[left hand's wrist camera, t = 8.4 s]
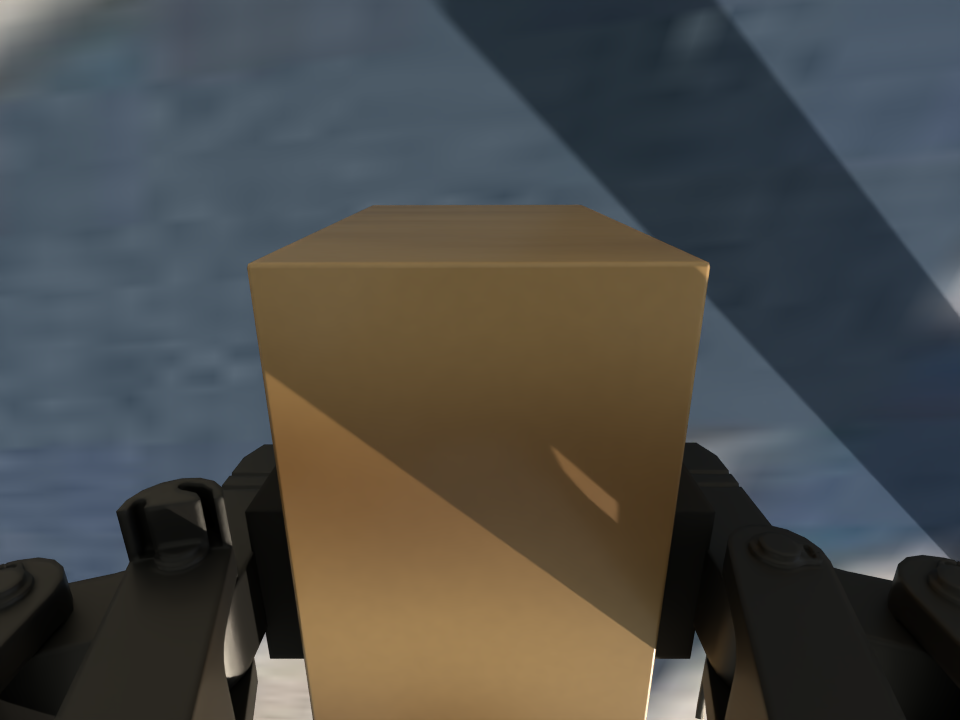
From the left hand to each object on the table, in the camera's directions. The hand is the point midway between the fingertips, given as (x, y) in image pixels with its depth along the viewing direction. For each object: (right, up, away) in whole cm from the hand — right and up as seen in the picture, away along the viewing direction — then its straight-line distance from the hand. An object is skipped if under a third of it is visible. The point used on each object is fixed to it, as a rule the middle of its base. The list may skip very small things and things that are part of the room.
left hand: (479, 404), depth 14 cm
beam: (0, -20, +8) cm, 21 cm away
